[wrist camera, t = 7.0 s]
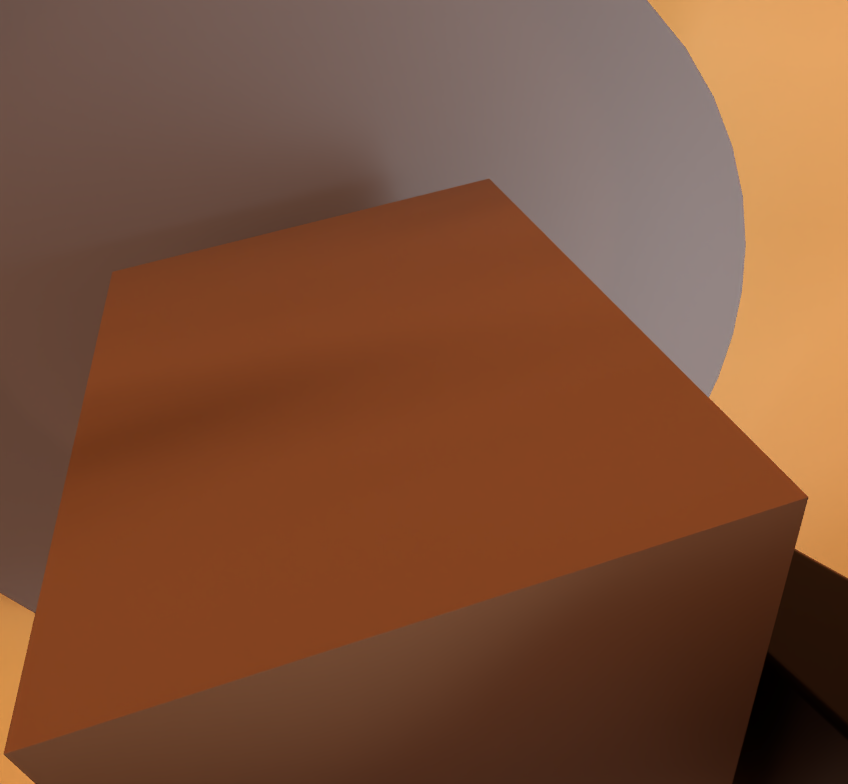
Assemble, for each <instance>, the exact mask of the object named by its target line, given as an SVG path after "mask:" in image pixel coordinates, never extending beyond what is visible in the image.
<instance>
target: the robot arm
mask: <svg viewBox="0 0 848 784" xmlns="http://www.w3.org/2000/svg"><path fill="white" fill-rule="evenodd" d="M732 784H848V578H846V577H845V576H843V575H841V574H839V573H837V572H836V571H834V570H832V569H830V568H828V567H827V566H825V565H823V564H821V563H819V562H818V561H816V560H814V559H812V558H810V557H808V556H807V555H805V554H803V553H801V552H799V551H798V550H796V549H794V553H793V556H792V560H791V564H790V568H789V571H788V575H787V579H786V583H785V586H784V590H783V594H782V598H781V601H780V605H779V609H778V613H777V616H776V620H775V624H774V628H773V632H772V635H771V639H770V643H769V647H768V650H767V654H766V658H765V662H764V665H763V669H762V673H761V677H760V680H759V684H758V688H757V692H756V695H755V699H754V703H753V707H752V711H751V714H750V718H749V722H748V726H747V729H746V733H745V737H744V741H743V744H742V748H741V752H740V756H739V759H738V763H737V767H736V771H735V774H734V778H733V782H732Z"/></svg>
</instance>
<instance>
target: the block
mask: <svg viewBox="0 0 848 784" xmlns="http://www.w3.org/2000/svg"><path fill="white" fill-rule="evenodd" d="M807 500H808V496H807V495H806V494H805V493H804V492H803V491H802V490H801V489H800V488H799V487H798V486H797V485H796V484H795V483H794V482H793V481H792V480H791V479H790V478H789V477H788V476H787V475H786V474H785V473H784V472H783V471H782V470H781V469H780V468H779V467H778V466H777V465H776V464H775V463H774V462H773V461H772V460H771V459H770V458H769V457H768V456H767V455H766V454H765V453H764V452H763V451H762V450H761V449H760V448H759V447H758V446H757V445H756V444H755V443H754V442H753V441H752V440H751V439H750V438H749V437H748V436H747V435H746V434H745V433H744V432H743V431H742V430H741V429H740V428H739V427H738V426H737V425H736V424H735V423H734V422H733V421H732V420H731V419H730V418H729V417H728V416H727V415H726V414H725V413H724V412H723V411H722V410H721V409H720V408H719V407H718V406H716V405H715V403H713V402H712V401H711V400H710V399H709V398H708V397H707V396H706V395H705V394H704V393H703V392H702V391H701V390H700V389H699V388H698V387H697V386H696V385H695V384H694V383H693V382H692V381H691V380H690V379H689V378H688V377H687V376H686V375H685V374H684V373H683V372H682V371H681V370H680V369H679V368H678V367H677V366H676V365H675V364H674V363H673V362H672V361H671V360H670V359H669V358H668V357H667V356H666V355H665V354H664V353H663V352H662V351H661V350H660V349H659V348H658V347H657V346H656V345H655V344H654V343H653V342H652V341H651V340H650V339H649V338H648V337H647V336H646V335H645V334H644V333H643V332H642V331H641V330H640V329H639V328H638V327H637V326H636V325H635V324H634V323H633V322H632V321H631V320H630V319H629V318H628V317H627V316H626V315H625V314H624V313H623V312H622V311H621V310H620V309H619V308H618V307H617V306H616V305H615V304H614V303H613V302H612V301H611V300H610V299H609V298H608V297H607V296H606V295H605V294H604V293H603V292H602V291H601V290H600V289H599V288H598V287H597V286H596V285H595V284H594V283H593V282H592V281H591V280H590V279H589V278H588V277H587V276H586V275H585V274H584V273H583V272H582V271H581V270H580V269H579V268H578V267H577V266H576V265H575V264H574V263H573V262H572V261H571V260H570V259H569V258H568V257H567V256H566V255H565V254H564V253H563V252H562V251H561V250H560V249H559V248H558V247H557V246H556V245H555V244H554V243H553V242H552V241H551V240H550V239H549V238H548V237H547V236H546V235H545V234H544V233H543V232H542V231H541V230H540V229H539V228H538V227H537V226H536V225H535V224H534V223H533V222H532V221H531V220H530V219H529V218H528V217H527V216H526V215H525V214H524V213H523V212H522V211H521V210H520V209H519V208H518V207H517V206H516V205H515V204H514V203H513V202H512V201H511V200H510V199H509V198H508V197H507V196H506V195H505V194H504V193H503V192H502V191H501V190H500V189H499V188H498V187H497V186H496V185H495V184H494V183H493V182H492V181H491V180H490V179H485V180H481V181H477V182H473V183H469V184H465V185H461V186H457V187H453V188H449V189H445V190H441V191H437V192H432V193H428V194H424V195H420V196H416V197H412V198H408V199H404V200H400V201H396V202H392V203H388V204H384V205H380V206H376V207H372V208H368V209H364V210H360V211H356V212H352V213H348V214H344V215H340V216H336V217H332V218H328V219H324V220H320V221H316V222H311V223H307V224H303V225H299V226H295V227H291V228H287V229H283V230H279V231H275V232H271V233H267V234H263V235H259V236H255V237H251V238H247V239H243V240H239V241H235V242H231V243H227V244H223V245H219V246H215V247H211V248H207V249H203V250H199V251H194V252H190V253H186V254H182V255H178V256H174V257H170V258H166V259H162V260H158V261H154V262H150V263H146V264H142V265H138V266H134V267H130V268H126V269H122V270H118V271H114V272H112V276H111V280H110V284H109V289H108V293H107V298H106V302H105V307H104V311H103V316H102V320H101V324H100V329H99V333H98V338H97V342H96V347H95V351H94V355H93V360H92V364H91V369H90V373H89V378H88V382H87V387H86V391H85V395H84V400H83V404H82V409H81V413H80V418H79V422H78V427H77V431H76V435H75V440H74V444H73V449H72V453H71V458H70V462H69V467H68V471H67V475H66V480H65V484H64V489H63V493H62V498H61V502H60V506H59V511H58V515H57V520H56V524H55V529H54V533H53V538H52V542H51V546H50V551H49V555H48V560H47V564H46V569H45V573H44V578H43V582H42V586H41V591H40V595H39V600H38V604H37V609H36V613H35V618H34V622H33V626H32V631H31V635H30V640H29V644H28V649H27V653H26V657H25V662H24V666H23V671H22V675H21V680H20V684H19V689H18V693H17V697H16V702H15V706H14V711H13V715H12V720H11V724H10V729H9V733H8V737H7V742H6V746H5V751H4V755H5V756H6V757H7V758H8V759H9V760H10V761H11V762H13V763H14V764H15V765H16V766H17V767H18V768H19V769H20V770H21V771H22V772H23V773H25V774H26V775H27V776H28V777H29V778H30V779H31V780H32V781H33V782H34V783H35V784H732V782H733V778H734V774H735V771H736V767H737V763H738V759H739V756H740V752H741V748H742V744H743V741H744V737H745V733H746V729H747V726H748V722H749V718H750V714H751V711H752V707H753V703H754V699H755V695H756V692H757V688H758V684H759V680H760V677H761V673H762V669H763V665H764V662H765V658H766V654H767V650H768V647H769V643H770V639H771V635H772V632H773V628H774V624H775V620H776V616H777V613H778V609H779V605H780V601H781V598H782V594H783V590H784V586H785V583H786V579H787V575H788V571H789V568H790V564H791V560H792V556H793V553H794V549H795V545H796V541H797V538H798V534H799V530H800V526H801V522H802V519H803V515H804V511H805V507H806V504H807Z"/></svg>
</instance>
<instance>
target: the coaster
mask: <svg viewBox="0 0 848 784" xmlns="http://www.w3.org/2000/svg"><path fill="white" fill-rule="evenodd" d="M485 179H490V180H491V181H492V182H493V183H494V184H495V185H496V186H497V187H498V188H499V189H500V190H501V191H502V192H503V193H504V194H505V195H506V196H507V197H508V198H509V199H510V200H511V201H512V202H513V203H514V204H515V205H516V206H517V207H518V208H519V209H520V210H521V211H522V212H523V213H524V214H525V215H526V216H527V217H528V218H529V219H530V220H531V221H532V222H533V223H534V224H535V225H536V226H537V227H538V228H539V229H540V230H541V231H542V232H543V233H544V234H545V235H546V236H547V237H548V238H549V239H550V240H551V241H552V242H553V243H554V244H555V245H556V246H557V247H558V248H559V249H560V250H561V251H562V252H563V253H564V254H565V255H566V256H567V257H568V258H569V259H570V260H571V261H572V262H573V263H574V264H575V265H576V266H577V267H578V268H579V269H580V270H581V271H582V272H583V273H584V274H585V275H586V276H587V277H588V278H589V279H590V280H591V281H592V282H593V283H594V284H595V285H596V286H597V287H598V288H599V289H600V290H601V291H602V292H603V293H604V294H605V295H606V296H607V297H608V298H609V299H610V300H611V301H612V302H613V303H614V304H615V305H616V306H617V307H618V308H619V309H620V310H621V311H622V312H623V313H624V314H625V315H626V316H627V317H628V318H629V319H630V320H631V321H632V322H633V323H634V324H635V325H636V326H637V327H638V328H639V329H640V330H641V331H642V332H643V333H644V334H645V335H646V336H647V337H648V338H649V339H650V340H651V341H652V342H653V343H654V344H655V345H656V346H657V347H658V348H659V349H660V350H661V351H662V352H663V353H664V354H665V355H666V356H667V357H668V358H669V359H670V360H671V361H672V362H673V363H674V364H675V365H676V366H677V367H678V368H679V369H680V370H681V371H682V372H683V373H684V374H685V375H686V376H687V377H688V378H689V379H690V380H691V381H692V382H693V383H694V384H695V385H696V386H697V387H698V388H699V389H700V390H701V391H702V392H703V393H704V394H705V395H706V396H707V397H708V398H709V396H710V394H711V391H712V389H713V387H714V385H715V383H716V381H717V379H718V377H719V374H720V371H721V368H722V365H723V362H724V359H725V356H726V353H727V350H728V347H729V344H730V341H731V338H732V335H733V331H734V326H735V321H736V317H737V312H738V307H739V302H740V298H741V293H742V283H743V270H744V258H745V227H744V210H743V196H742V191H741V186H740V181H739V176H738V172H737V167H736V162H735V157H734V152H733V147H732V145H731V142H730V139H729V137H728V134H727V131H726V129H725V126H724V123H723V121H722V118H721V115H720V113H719V110H718V107H717V105H716V102H715V99H714V97H713V95H712V93H711V91H710V90H709V88H708V86H707V84H706V83H705V81H704V79H703V77H702V76H701V74H700V72H699V70H698V69H697V67H696V65H695V63H694V62H693V60H692V58H691V56H690V55H689V53H688V51H687V49H686V48H685V46H684V45H683V44H682V43H681V42H680V40H679V39H678V38H677V37H676V35H675V34H674V33H673V32H672V30H671V29H670V28H669V27H668V26H667V24H666V23H665V22H664V21H663V19H662V18H661V17H660V16H659V15H658V13H657V12H656V11H655V10H654V8H653V7H652V6H651V5H650V3H649V2H648V1H647V0H0V593H2V594H3V595H5V596H7V597H8V598H10V599H12V600H14V601H15V602H17V603H19V604H20V605H22V606H24V607H26V608H27V609H29V610H31V611H32V612H34V613H36V609H37V604H38V600H39V595H40V591H41V586H42V582H43V578H44V573H45V569H46V564H47V560H48V555H49V551H50V546H51V542H52V538H53V533H54V529H55V524H56V520H57V515H58V511H59V506H60V502H61V498H62V493H63V489H64V484H65V480H66V475H67V471H68V467H69V462H70V458H71V453H72V449H73V444H74V440H75V435H76V431H77V427H78V422H79V418H80V413H81V409H82V404H83V400H84V395H85V391H86V387H87V382H88V378H89V373H90V369H91V364H92V360H93V355H94V351H95V347H96V342H97V338H98V333H99V329H100V324H101V320H102V316H103V311H104V307H105V302H106V298H107V293H108V289H109V284H110V280H111V276H112V272H114V271H118V270H122V269H126V268H130V267H134V266H138V265H142V264H146V263H150V262H154V261H158V260H162V259H166V258H170V257H174V256H178V255H182V254H186V253H190V252H194V251H199V250H203V249H207V248H211V247H215V246H219V245H223V244H227V243H231V242H235V241H239V240H243V239H247V238H251V237H255V236H259V235H263V234H267V233H271V232H275V231H279V230H283V229H287V228H291V227H295V226H299V225H303V224H307V223H311V222H316V221H320V220H324V219H328V218H332V217H336V216H340V215H344V214H348V213H352V212H356V211H360V210H364V209H368V208H372V207H376V206H380V205H384V204H388V203H392V202H396V201H400V200H404V199H408V198H412V197H416V196H420V195H424V194H428V193H432V192H437V191H441V190H445V189H449V188H453V187H457V186H461V185H465V184H469V183H473V182H477V181H481V180H485Z"/></svg>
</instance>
